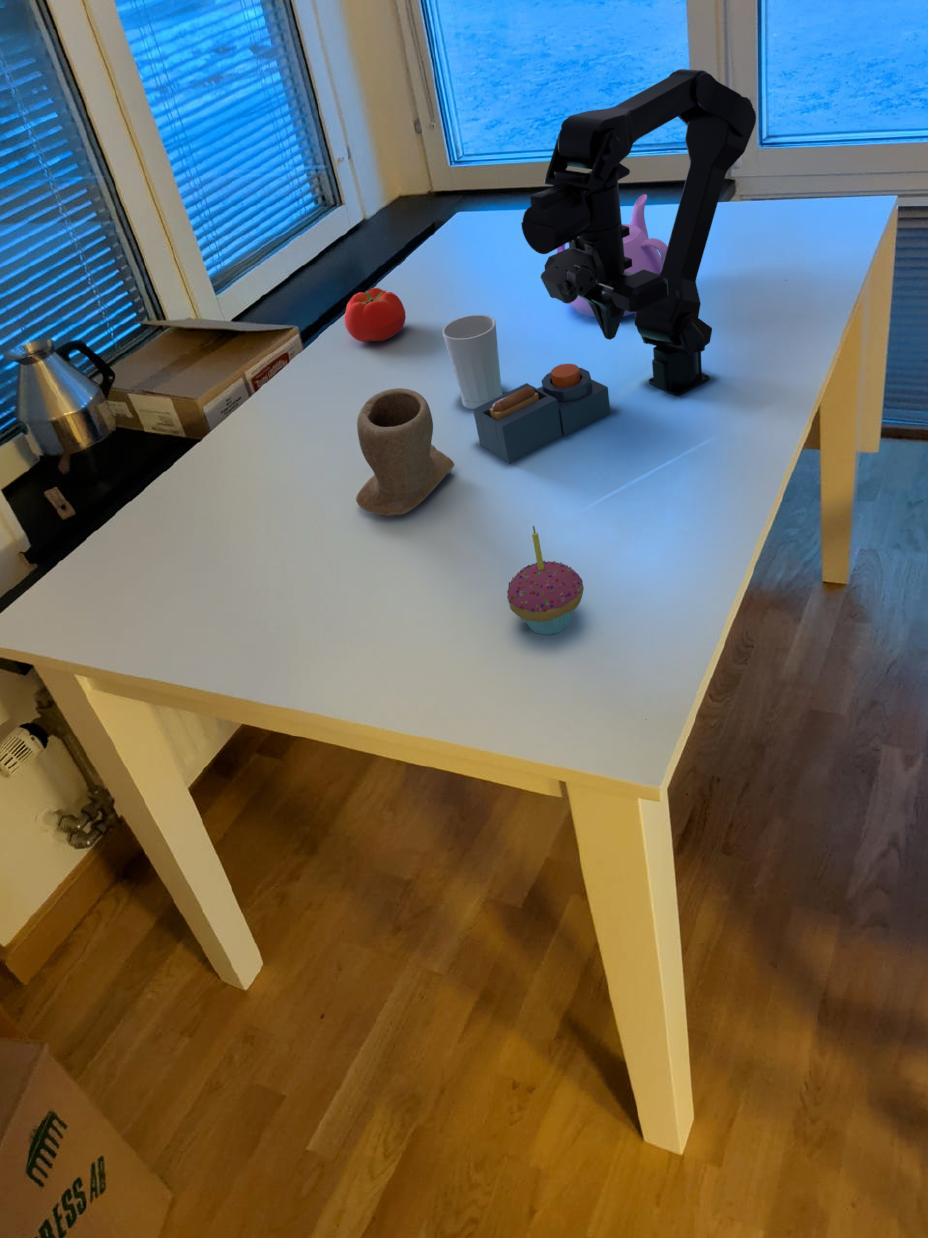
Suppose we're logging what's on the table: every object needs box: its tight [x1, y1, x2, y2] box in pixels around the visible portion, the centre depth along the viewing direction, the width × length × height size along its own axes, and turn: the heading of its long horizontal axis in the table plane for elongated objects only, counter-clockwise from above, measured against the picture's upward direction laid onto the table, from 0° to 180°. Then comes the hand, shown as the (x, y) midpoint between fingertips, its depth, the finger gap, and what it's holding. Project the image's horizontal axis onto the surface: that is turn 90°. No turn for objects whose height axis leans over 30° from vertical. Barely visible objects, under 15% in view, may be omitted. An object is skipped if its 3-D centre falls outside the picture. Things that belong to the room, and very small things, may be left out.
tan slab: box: [490, 387, 539, 421], centre depth 149 cm, size 7×2×6 cm, turn 123°
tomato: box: [343, 287, 407, 343], centre depth 186 cm, size 11×11×8 cm
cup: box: [442, 314, 504, 410], centre depth 159 cm, size 8×8×12 cm
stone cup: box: [355, 387, 455, 517], centre depth 142 cm, size 15×12×15 cm
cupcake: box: [506, 525, 584, 636], centre depth 116 cm, size 9×8×12 cm
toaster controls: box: [537, 367, 611, 437], centre depth 152 cm, size 8×8×6 cm
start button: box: [550, 363, 580, 387], centre depth 150 cm, size 4×4×2 cm
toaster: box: [472, 382, 563, 464], centre depth 149 cm, size 9×7×6 cm
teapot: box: [556, 193, 668, 319], centre depth 177 cm, size 22×22×14 cm
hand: (610, 337), depth 142 cm, fingers closed
